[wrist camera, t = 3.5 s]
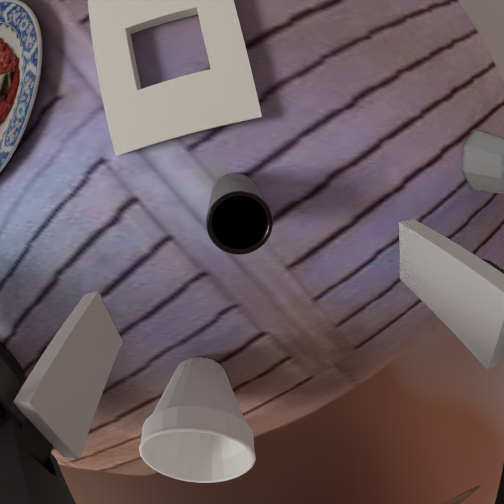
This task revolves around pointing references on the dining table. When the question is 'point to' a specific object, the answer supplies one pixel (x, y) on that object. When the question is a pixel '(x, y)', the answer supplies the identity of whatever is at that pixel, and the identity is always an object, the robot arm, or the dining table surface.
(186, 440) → the cup
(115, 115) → the notched board
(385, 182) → the dining table surface
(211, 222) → the grey cylinder
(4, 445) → the robot arm
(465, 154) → the coffee maker
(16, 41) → the ceramic plate
